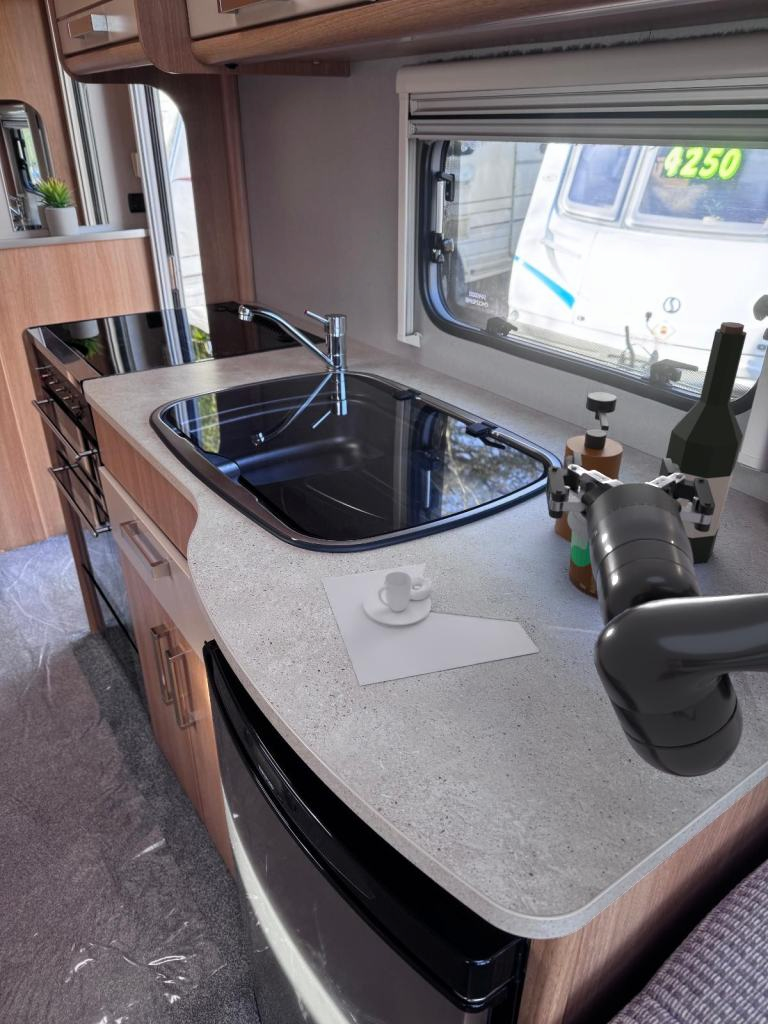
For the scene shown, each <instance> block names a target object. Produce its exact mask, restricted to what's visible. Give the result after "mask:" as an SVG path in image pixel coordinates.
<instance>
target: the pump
mask: <svg viewBox="0 0 768 1024" xmlns="http://www.w3.org/2000/svg"><path fill="white" fill-rule="evenodd" d="M617 399H618V398H617V396H616V395H614V394H612V393H609V392H604V391H595V392H589V393H588V394H587V396H586V403H585V408H586V410H588V411H589V412H592V413H594V419H595V420H596V421H599V425H600V430H602V431H604V432H606V431H609V428H610V425H609V421H608V416H607V414H612V413H613V412H615V410H616V406H617Z"/></svg>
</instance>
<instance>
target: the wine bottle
mask: <svg viewBox="0 0 768 1024" xmlns="http://www.w3.org/2000/svg"><path fill="white" fill-rule="evenodd" d="M744 328H745V325H744V324H742V323H740V322H733V321H726V322H725V321H723V322H721V324H720V327H719V328H717V329H716V330H715V331H714V334H713V335H714V336H713V340H712V344H711V347H710V348H711V349H710V352H709V356H708V357H709V358H708V362H707V365H706V366H707V367H706V371H705V375H704V380H703V384H702V388H701V392H700V398H699V400H697V402H696V403H695V404H694V405H693V406H692V407H691V408H690V409H689V410H688V411H687V413H685V415H684V416H683V417H682V418H681V419H680V420H679V421H678V422H677V423H676V424H675V426H674V427H673V428H672V430H671V432H670V437H669V441H668V446H667V450H666V454H665V458H669V459H671V461H672V463H674V464H677V465H678V466H679V468H680V471H681V473H682V474H684V475H685V476H686V479H687V480H691V481H694V478H697V477H700V478H704V479H707V480H708V483H709V486H710V489H711V493H712V496H713V499H714V502H715V509H714V513H713V517H712V521H711V525H710V529H709V531H708V532H700V531H698V530H696V529H695V528H694V523H689V522H685V521H682V523H683V526H684V529H685V531H686V534H687V537H688V539H689V540H690V542H691V547H692V554H693V561H694V565H701V564H707V563H708V562H709V560H710V558H711V557H712V554H713V551H714V546H715V544H716V540H717V537H718V532H719V529H720V524H721V521H722V518H723V515H724V514H723V513H724V509H725V506H726V503H727V498H728V494H729V490H730V487H731V484H732V479H733V475H734V471H735V467H736V464H737V460H738V456H739V453H740V449H741V445H742V441H743V438H744V435H743V432H742V430H741V428H740V425H739V422H738V419H737V417H736V415H735V412H734V410H733V407H732V405H731V398H732V395H733V390H734V386H735V382H736V378H737V375H738V370H739V366H740V362H741V358H742V354H743V349H744V347H745V346H744V345H745V343H746V338H747V332H746V331H744ZM679 503H680V504H681V507H686V506H687V504H688V503H689V500H687V499H682V498H681V501H679Z"/></svg>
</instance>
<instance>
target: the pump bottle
mask: <svg viewBox="0 0 768 1024" xmlns="http://www.w3.org/2000/svg"><path fill="white" fill-rule="evenodd" d="M607 435H608V434H607V432H606V431H605V430H601V429H597V428H595V429H594V428H592V429H587V430H586V431H585V434H583V435H582V434H581V435H576V436H573V437H570V438H568V439H567V440H566V443H565V450H564V456H563V457H564V458H563V463H562V464H563V465H562V468H561V470H564V469H565V462H566V457H567V456H573V451H575V452H581V460H582V468H583V469H585V470H587V471H588V472H589V471H593V470H596V471H597V472H599V473H601V474H603V475H604V476H606V477H608V478H610V479H611V480H618V481H619V478H620V475H619V474H620V470H621V463H622V457H623V451H624V448H623V445H622V444H621V443H619V442H618V441H616V440H614V439H611V438H608V436H607ZM580 484H581V482H580ZM580 484H579V486H580ZM596 487H597V485H596ZM569 512H570V511H566V512H563V517H562V518H560V519H555V523H554V531H555V533H556V534H557V535H558V536H559V537H560V538H562V539H563V540H565V541H568V542H570V543H571V538H572V529H571V528H570V527H569V524H568V521H567V518H568V515H569Z"/></svg>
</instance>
